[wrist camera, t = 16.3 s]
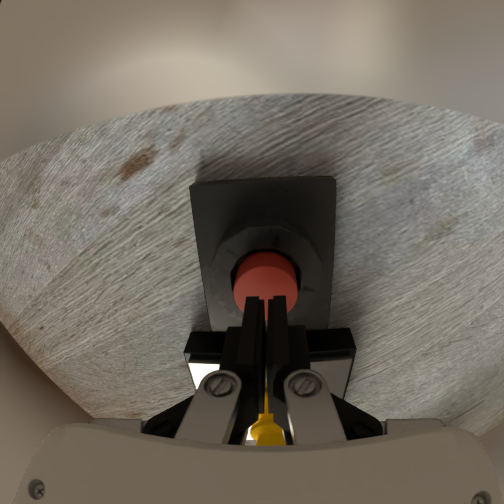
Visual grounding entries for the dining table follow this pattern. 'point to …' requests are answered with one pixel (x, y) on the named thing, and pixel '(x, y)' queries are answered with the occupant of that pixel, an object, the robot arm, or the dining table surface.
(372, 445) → the robot arm
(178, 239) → the dining table surface
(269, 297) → the button
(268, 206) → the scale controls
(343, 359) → the scale
